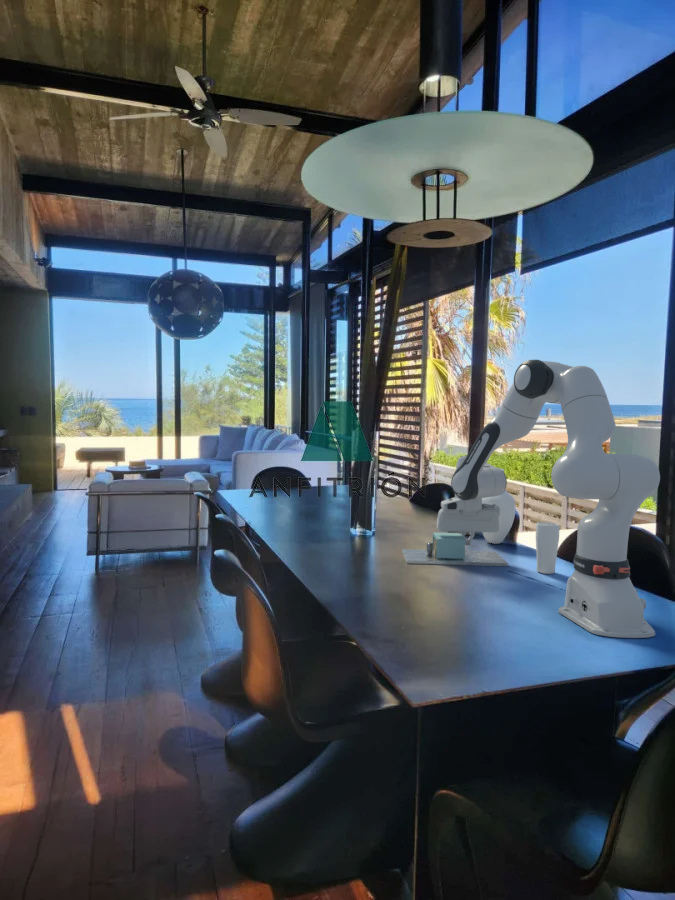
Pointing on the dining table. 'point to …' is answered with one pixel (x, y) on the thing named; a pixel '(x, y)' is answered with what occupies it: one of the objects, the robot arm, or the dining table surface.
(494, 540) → the vase
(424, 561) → the base
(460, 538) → the cover
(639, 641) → the dining table surface
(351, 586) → the dining table surface
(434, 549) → the block
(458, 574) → the dining table surface
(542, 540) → the drinking glass
